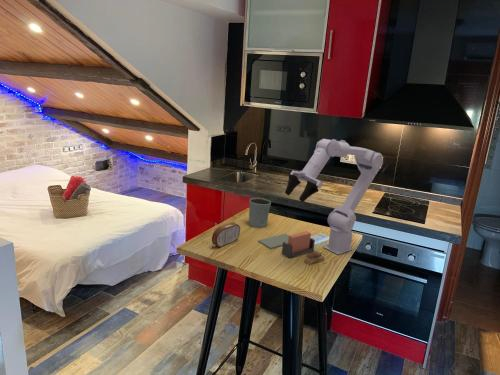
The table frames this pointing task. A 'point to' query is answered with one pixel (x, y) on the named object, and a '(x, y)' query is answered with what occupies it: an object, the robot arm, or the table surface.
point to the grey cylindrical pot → (259, 212)
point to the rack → (288, 252)
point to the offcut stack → (314, 258)
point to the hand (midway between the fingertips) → (293, 197)
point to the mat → (274, 241)
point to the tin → (226, 234)
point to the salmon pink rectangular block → (299, 241)
